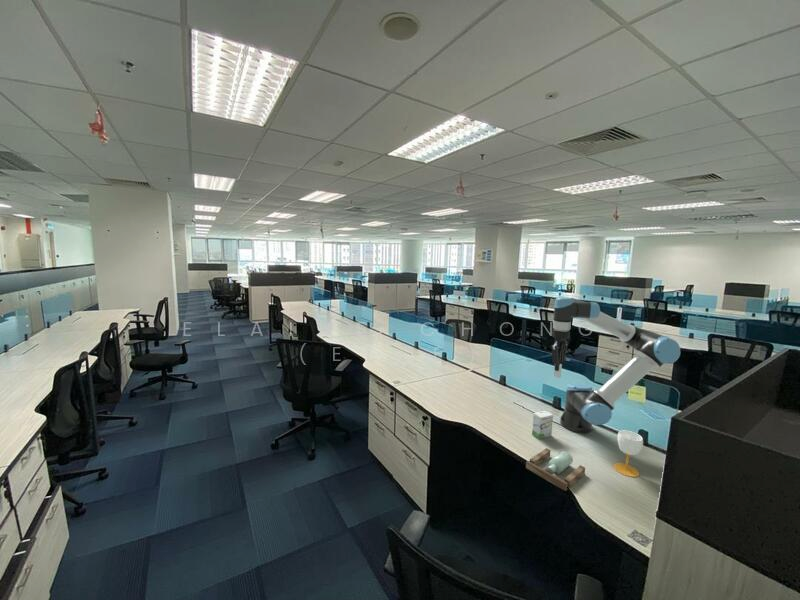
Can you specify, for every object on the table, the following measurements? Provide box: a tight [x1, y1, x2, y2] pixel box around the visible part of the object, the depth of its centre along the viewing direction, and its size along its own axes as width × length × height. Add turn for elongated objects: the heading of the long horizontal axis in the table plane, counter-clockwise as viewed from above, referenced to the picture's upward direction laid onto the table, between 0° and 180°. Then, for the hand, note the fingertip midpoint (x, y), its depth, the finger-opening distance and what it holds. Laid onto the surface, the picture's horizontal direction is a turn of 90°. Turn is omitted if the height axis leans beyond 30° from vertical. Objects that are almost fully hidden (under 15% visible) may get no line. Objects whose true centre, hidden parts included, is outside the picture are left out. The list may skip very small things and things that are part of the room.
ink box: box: [531, 410, 554, 440], centre depth 163 cm, size 8×5×12 cm, turn 111°
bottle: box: [544, 450, 574, 475], centre depth 137 cm, size 6×6×16 cm
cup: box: [613, 429, 644, 478], centre depth 137 cm, size 9×9×16 cm
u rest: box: [525, 447, 586, 492], centre depth 137 cm, size 17×17×3 cm
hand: (557, 376), depth 157 cm, fingers closed
